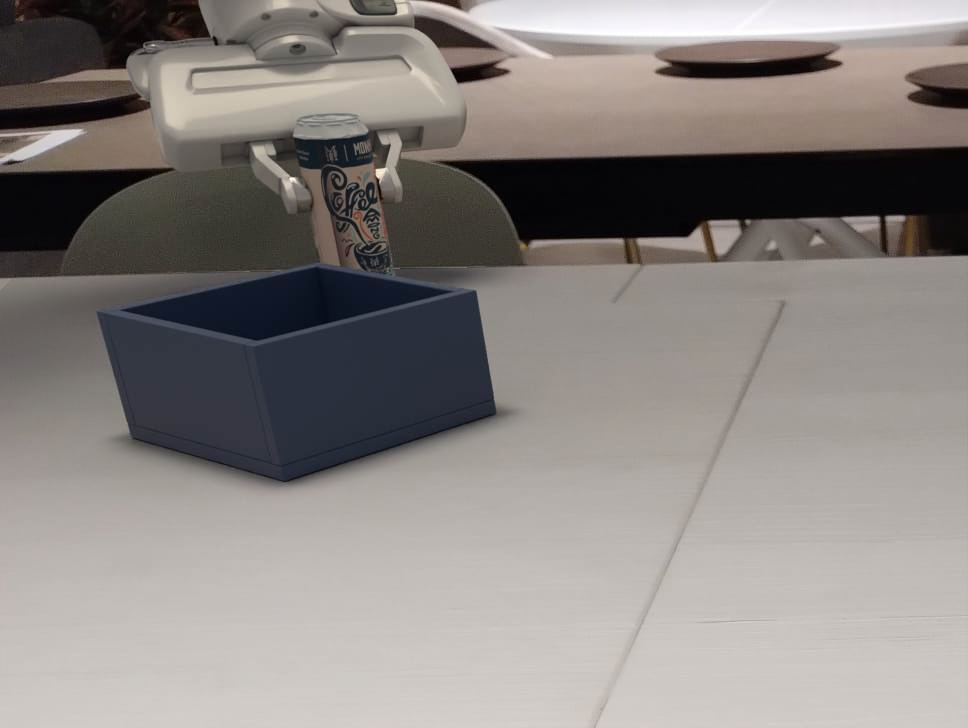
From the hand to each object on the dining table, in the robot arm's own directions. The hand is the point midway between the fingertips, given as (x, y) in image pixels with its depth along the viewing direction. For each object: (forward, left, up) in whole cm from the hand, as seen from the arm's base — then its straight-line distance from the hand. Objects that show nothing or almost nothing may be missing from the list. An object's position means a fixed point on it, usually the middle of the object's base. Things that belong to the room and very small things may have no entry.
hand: (347, 202), depth 114 cm
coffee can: (-1, 0, -7) cm, 7 cm away
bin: (+22, -20, -7) cm, 30 cm away
